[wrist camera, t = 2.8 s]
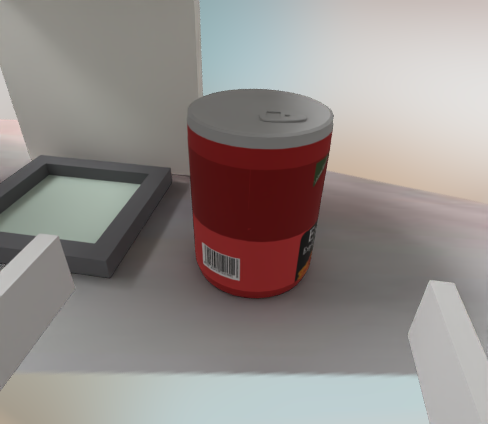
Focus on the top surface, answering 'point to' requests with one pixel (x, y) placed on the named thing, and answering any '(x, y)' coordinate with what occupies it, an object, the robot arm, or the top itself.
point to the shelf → (103, 77)
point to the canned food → (256, 186)
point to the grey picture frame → (80, 208)
